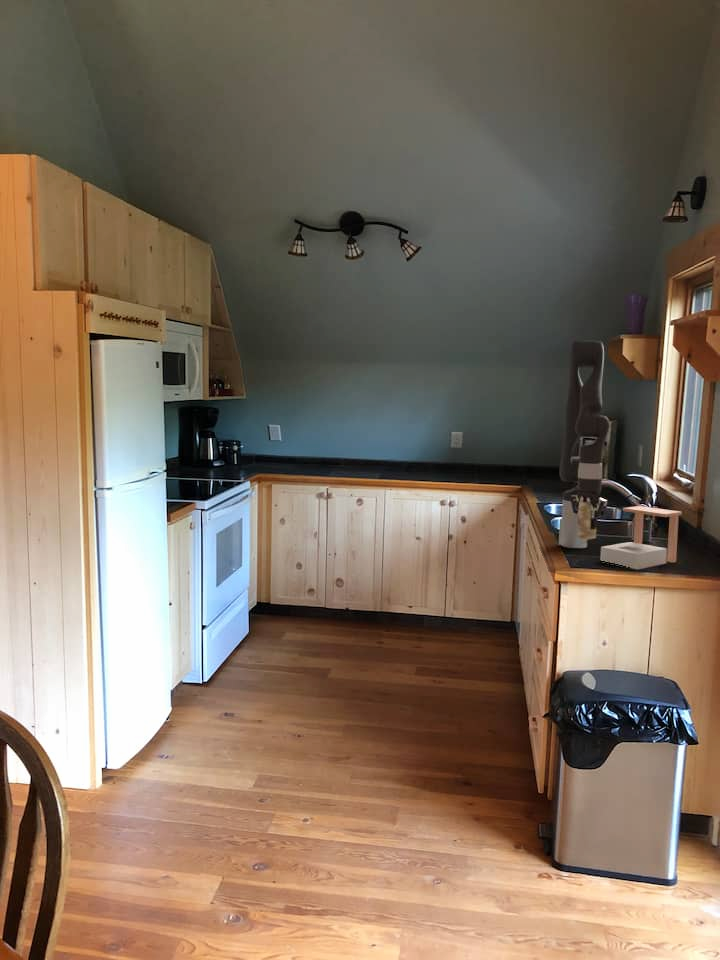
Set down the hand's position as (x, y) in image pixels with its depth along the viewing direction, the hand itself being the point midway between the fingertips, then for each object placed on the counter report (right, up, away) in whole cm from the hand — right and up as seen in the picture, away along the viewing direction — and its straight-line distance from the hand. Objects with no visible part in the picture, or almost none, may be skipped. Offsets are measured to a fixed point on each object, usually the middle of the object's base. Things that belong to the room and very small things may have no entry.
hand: (587, 527), depth 242 cm
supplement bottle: (+33, -8, +40) cm, 53 cm away
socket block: (+16, -12, +3) cm, 20 cm away
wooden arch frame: (+24, -11, +8) cm, 27 cm away
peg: (0, -3, 0) cm, 3 cm away
